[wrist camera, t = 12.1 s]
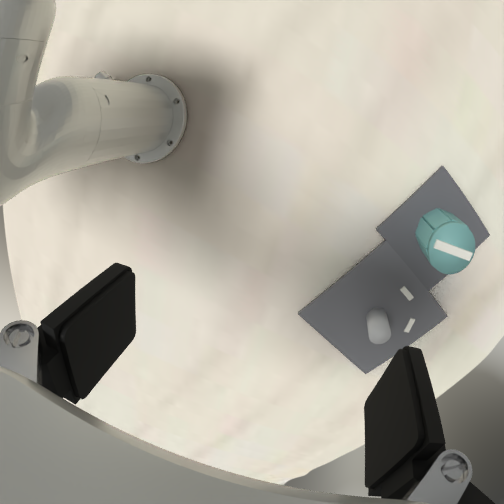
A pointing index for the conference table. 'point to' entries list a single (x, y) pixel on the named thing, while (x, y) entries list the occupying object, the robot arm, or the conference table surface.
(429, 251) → the cap
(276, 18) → the conference table surface
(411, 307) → the post plate
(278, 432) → the conference table surface
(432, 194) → the mat
